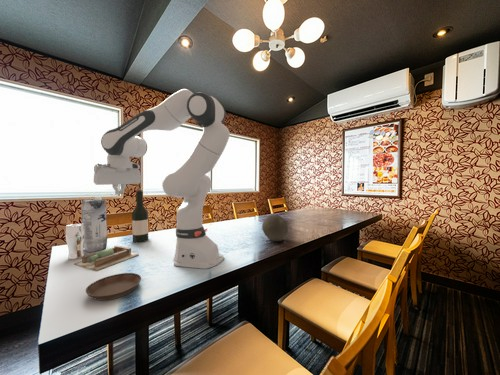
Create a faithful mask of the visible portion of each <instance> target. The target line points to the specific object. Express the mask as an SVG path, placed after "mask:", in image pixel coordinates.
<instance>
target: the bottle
mask: <svg viewBox="0 0 500 375" xmlns="http://www.w3.org/2000/svg"><path fill="white" fill-rule="evenodd" d="M112 248H113V247H109V248H106V249H103V250H98V251H96V252H97V253H96V252H95V253H96V255H93V256H90V257H88V258H87V262H88V263H91V262H94V260H96V259H99V258H103V257H106V256H109V255H112V254H114V250H113V249H112Z"/></svg>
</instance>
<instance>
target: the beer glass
mask: <svg viewBox="0 0 500 375" xmlns="http://www.w3.org/2000/svg"><path fill="white" fill-rule="evenodd" d="M65 241H66V244H67V248H68V255H67V259H68V260H77V259H78V260H79V259H82V257H83V256H86V254H85V249H84V242H85V224H82V223H74V224H67V225H66V226H65Z"/></svg>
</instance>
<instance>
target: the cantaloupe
mask: <svg viewBox="0 0 500 375" xmlns="http://www.w3.org/2000/svg"><path fill="white" fill-rule="evenodd" d="M261 224H262V226H261V228H262V232H263V234H264V235H265V237H266V238H268V239H269V240H270V241H272V242H281V241H283V240H284V239H285V238H286V237H287V235H288V232H289V230H288V223H287V222H286V220H285V219H284V218H283V217H282V216H280V215H277V214H274V215H269V216H267V217H266V218H265V219H264V220H263V222H262V223H261Z"/></svg>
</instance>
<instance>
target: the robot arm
mask: <svg viewBox="0 0 500 375" xmlns="http://www.w3.org/2000/svg"><path fill="white" fill-rule="evenodd" d="M226 113H227V112H226V109H225V107H224V106H223V104H222V102H219V100H218V99H217V98H215V97H214V96H212V95H210V94H208V93H206V92H201V91H200V92H199V91H198V92H192V91H191V90H189V89H187V88H182V89H180V90H178V91H176V92H174V93H173V94H171V95H170V96H168V97H167V98H165V100H164V101H162V102H161V103H160V104H157V105H156V106H154V107H152V108H149V109H145V110H144V111H141V112H139V113H137V114H136V115H134V116H133V117H132V118H130V119H128V120H126V121H125V122H124V123H122V124H121V125H119V126H118V127H116V128H113V129H109V130H107V131H106V132H104V134H103V135H102V137H101V139H100V144H101V146H102V149H103V150H104V151H105V152H106V154H107V158H106V160H107V161H106V162H107V163H97V164H95V165H94V167H93V171H94V173H93V184H95V185H97V186H98V185H103V186H104V185H112V189H113V190H114V192H115V193H114V194H115V195H124V194H125V189H126V187H127V185H140V184H141V182H142V177H141V175H142V174H141V173H142V172H141V170H140V168H141V166H140V165H139V164H138V163H135V162H133V161H131V159H130V158H141V157H144V156H145V155H146V154H147V151H148V144H147V141H146V140H145V139H144V138H142V137H140V136H138V135H140V134H142V133H144V132H147V131H152V130H153V131H155V130H156V131H166V132H167V131H169V132H170V131H174V130H175V129H177V128H179V127H180V126H182V125H183V124H185V123H186V122H187V121H188V120H189V119H190V118H192V120H194V121H195V123H196V124H197V125H198V126H199V127H200V128H202V133H201V135H200V137H199V139H198V141H197V142H196V144H195V146H194V148H193V149H192V151H191V153H190V154H189V155H188V157H187V158H186V159H185V161H184V162H183V163H182V164H180V165H179V167H177V168H176V169H174V170H173V171H172V172H169V173H167V174H166V175H164V177H163V179H162V186H161V187H162V189H163V191H164V194H165V195H167V196H168V197H172V198H179V199H180V198H183V201H182V203H181V205H180V206H179V207H178V208H177V209H176V227H175V236H176V243H175V252H174V253H175V254H174V256H173V266H176V267H183V268H184V267H186V268H194V269H202V270H203V269H204V270H205V269H207V270H208V269H210V268H212V267H215V266H217V265H220V263H221V262H223V260H224V259H225V255H224V254H221V253H220V251H219V247H218V245H217V243H215V241H213V240H212V239H211V238H210V237H208V235H206V234H207V233H206V232H207V231H208V228H206V229H205V227H204V225H203V210H204V204H205V201H206V196H207V195H208V194H209V191H210V190H212V189H211V188H212V180H211V178H210V176H209V175H207V174H208V173H209V172H211V171H212V170H213V169H214V167H215V166H216V164H217V163H218V161H219V160H220V157H221V156H222V154H223V152H224V150H225V148H226V146H227V143H228V141H229V139H230V135H231V134H230V130H229V128H228V127H227V126H226V125H225V124H224V123H223V122H225V120H226V115H227V114H226ZM119 186H120V187H121V188H120V189H119V188H118V187H119Z"/></svg>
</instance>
